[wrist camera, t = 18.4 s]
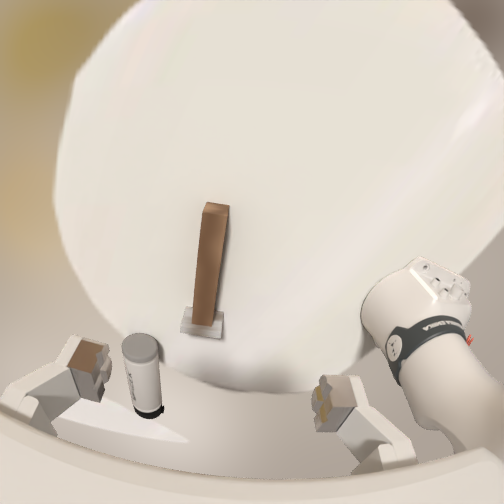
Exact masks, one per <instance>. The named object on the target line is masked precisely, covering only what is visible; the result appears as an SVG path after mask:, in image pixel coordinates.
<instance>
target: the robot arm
mask: <svg viewBox="0 0 504 504" xmlns="http://www.w3.org/2000/svg"><path fill="white" fill-rule="evenodd" d="M424 266H425V267H424ZM423 267H424V268H423ZM469 292H470V282H469V281H468V280H467V279H466V278H464V277H462V276H460V275H458V274H456V273H454V272H452V271H450V270H448V269H446V268H444V267H442V266H440V265H438V264H436V263H434V262H432V261H430V260H428V259H426V258H424V257H421V256H420V257H417V258H415V259H414V260H413V261H411V262H410V263H409V264H408V265H407V266H406V267H404V268H403V269H401V270H399V271H396V272H394V273H392V274H390V275H388V276H387V277H385V278H384V279H382V280H381V281H380V282H379V283H377V284H376V285H375V286H374V288H373V289H372V290H371V291H370V292H369V294H368V295H367V297H366V299H365V301H364V303H363V306H362V311H361V319H362V323H363V325H364V327H365V328H366V330H367V331H368V332H369V333H370V334H371V335H372V337H373V340H374V343H375V345H376V346H377V347H378V348H380V349H381V351H382V352H383V354H384V355H385V357H386V359H387V360H388V363H389V367H390V369H391V371H392V374H393V377H394V379H395V380H396V382H397V384H398V385H399V386H401V387H402V389H403V391H404V394H405V396H406V399H407V401H408V403H409V406H410V408H411V411H412V413H413V416H414V419H415V421H416V422H417V423H418V425H419V426H421V427H422V428H424V429H427V430H441V431H442V432H443V433H444V434H445V436H446V437H447V438H448V439H449V441H450V442H451V444H452V446H453V450H454V455H450V456H447V457H444V458H440V459H436V460H432V461H428V462H424V463H420V464H419V463H418V461H417V457H416V454H415V451H414V448H413V446H412V443H411V440H410V439H409V438H408V437H407V436H406V435H404V434H403V433H402V432H401V431H400V430H399V429H398V428H397V427H395V426H394V425H393V424H392V423H391V422H390V421H389V420H388V419H386V418H385V417H384V416H383V415H382V414H381V413H380V412H378V410H376V409H375V408H374V407H370V405H369V402H368V399H367V396H366V393H365V390H364V387H363V384H362V381H361V378H360V377H359V376H358V375H355V376H354V375H322V376H321V378H320V380H319V384H320V385H319V386H317V387H315V389H314V391H313V394H312V410H313V411H315V413H316V416H315V418H314V422H315V428H316V432H336V434H337V435H338V437H339V438H340V439H341V440H342V441H343V443H344V444H345V445H346V446H347V448H348V449H349V450H350V451H351V452H352V454H353V455H354V456H355V457H356V459H357V460H358V461H359V462H360V464H359V465H358V466H357V467H356V468H355V469H354V470H353V471H352V472H351V475H350V476H340V477H328V478H312V479H253V478H237V477H225V476H215V475H205V474H198V473H191V472H185V471H178V470H173V469H167V468H162V467H157V466H152V465H147V464H143V463H139V462H134V461H130V460H126V459H122V458H119V457H115V456H111V455H108V454H105V453H101V452H98V451H95V450H92V449H88V448H85V447H83V446H80V445H77V444H74V443H71V442H68V441H66V440H63V439H60V438H58V437H57V435H58V434H57V432H56V430H55V429H54V427H53V426H52V424H51V421H52V420H54V419H55V418H56V417H58V416H59V415H60V414H62V413H63V412H64V411H65V410H67V409H68V408H69V407H70V406H72V405H73V404H74V403H76V402H77V401H78V400H79V399H80V397H81V398H84V399H88V400H91V401H95V402H99V403H100V401H101V399H102V396H103V394H104V391H105V388H104V383H106V382H108V381H109V378H110V375H111V370H112V361H111V358H110V357H109V356H108V353H109V351H110V350H109V346H108V344H105V343H101V342H98V341H95V340H91V339H88V338H83V337H80V336H77V335H74V334H73V335H71V336H70V337H69V339H68V341H67V342H66V344H65V346H64V347H63V349H62V351H61V352H60V354H59V356H58V358H57V360H56V361H55V363H53V362H50V363H48V364H47V365H45V366H43V367H41V368H39V369H37V370H35V371H34V372H32V373H30V374H28V375H26V376H24V377H22V378H20V379H19V380H17V381H15V382H13V383H11V384H9V385H8V386H7V388H6V390H5V391H4V393H3V395H2V397H1V398H0V504H504V384H503V383H501V382H499V381H497V380H496V379H495V378H493V377H492V376H491V375H490V374H489V373H488V372H487V371H486V369H485V368H484V367H483V365H482V364H481V363H480V361H479V360H478V359H477V357H476V356H475V355H474V353H473V352H472V350H471V349H470V347H469V345H470V344H471V342H472V341H473V338H472V339H471V341H470V342H469V340H470V338H471V335H469V336H468V338H467V339H466V337H465V333H464V330H465V328H466V326H467V324H468V322H469V319H470V316H471V311H472V306H471V304H470V302H469V300H468V296H469ZM468 342H469V343H468Z"/></svg>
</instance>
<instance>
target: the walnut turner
mask: <svg viewBox="0 0 504 504" xmlns="http://www.w3.org/2000/svg"><path fill="white" fill-rule="evenodd" d="M228 211H229V205H224V204H217V203H210V202H207V203H206V205H205V208H204V210H203V213H202V222H201V230H200V239H199V248H198V258H197V268H196V278H195V289H194V300H193V307H188V306H186V308H185V311H184V315H183V319H182V323H181V326H180V333H186V334H192V335H199V336H205V337H212V338H219V339H220V338H221V331H222V322H223V312H220V311H214V308H215V300H216V293H217V286H218V279H219V272H220V265H221V258H222V251H223V244H224V238H225V231H226V224H227V218H228Z"/></svg>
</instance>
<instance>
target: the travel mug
mask: <svg viewBox="0 0 504 504" xmlns="http://www.w3.org/2000/svg"><path fill="white" fill-rule="evenodd" d="M122 352H123V358H124V364H125V369H126V374H127V379H128V384H129V389H130V394H131V398H132V403H133V406H134V409H135V412H136V413H137V414H138V415H139V416H141V417H143V418H146V419H153V418H156V417H158V416H159V415H160V414H161V413H163V412H164V406H163V407H162V397H161V386H160V373H159V358H158V344H157V342H156V340H155V339H154V338H153V337H152V336H150V335H147V334H143V333H135V334H132V335H129V336H128V337H126V338H125V339H124V341H123V343H122Z"/></svg>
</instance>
